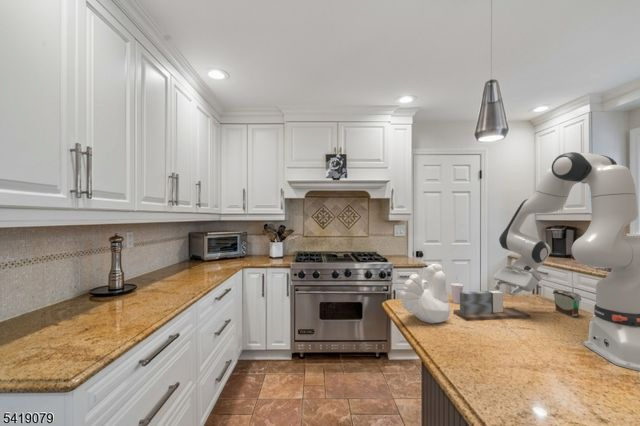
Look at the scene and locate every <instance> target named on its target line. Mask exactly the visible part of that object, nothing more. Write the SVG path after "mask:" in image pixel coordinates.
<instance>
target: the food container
mask: <svg viewBox="0 0 640 426" xmlns="http://www.w3.org/2000/svg"><path fill="white" fill-rule="evenodd" d="M552 294H553V296H554V307H555V311H556V312H557V313H560V314H562V315H565V316H568V317H570V318H572V319H573V318H574V319H575V318H578V317H579V312H580V308H579V307H580V302H581V301H582V297H581V294H579V293H577V292H574V291H568V290H563V289H553V291H552Z"/></svg>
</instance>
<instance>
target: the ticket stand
mask: <svg viewBox="0 0 640 426" xmlns="http://www.w3.org/2000/svg"><path fill="white" fill-rule="evenodd" d="M489 291H490V290H485V291H483V290H482V291H481V290H480V291H462V292H460V304H459V309H453V314H454V315H456V316H458V317H459V318H461V319H462V320H465V321H467V322H469V321H470V322H471V321H490V320H492V321H493V320H513V319H516V320H517V319H531V318H532V317H531V315H532V314H530V313H528V312H525V311H522V310H520V309H518V308H515V307H503V312H497V313H493V295H492V292H489Z"/></svg>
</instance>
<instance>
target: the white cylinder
mask: <svg viewBox="0 0 640 426" xmlns="http://www.w3.org/2000/svg"><path fill="white" fill-rule="evenodd" d="M488 291H489V292H492V295H493V313H497V312H503V308H504V292H502V291H499V290H488Z"/></svg>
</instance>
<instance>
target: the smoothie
mask: <svg viewBox="0 0 640 426" xmlns="http://www.w3.org/2000/svg"><path fill="white" fill-rule="evenodd" d="M463 289H464V284H463V283H458V275H455V282H452V283H451V282H450V290H451V296H452V301H453V303H454V304H459V305H460V292H464V291H463Z"/></svg>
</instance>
